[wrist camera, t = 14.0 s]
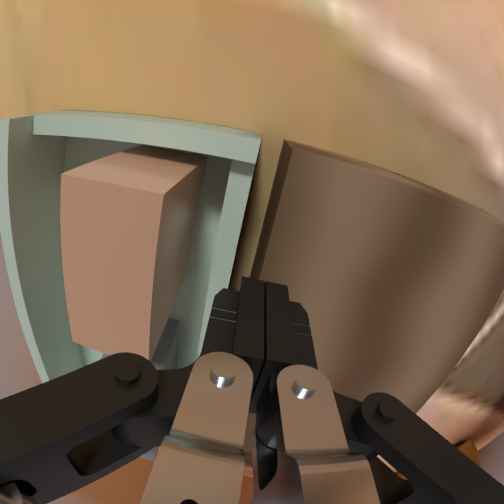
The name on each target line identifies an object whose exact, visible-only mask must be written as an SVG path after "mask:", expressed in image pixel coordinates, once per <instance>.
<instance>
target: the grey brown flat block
mask: <svg viewBox="0 0 504 504" xmlns="http://www.w3.org/2000/svg"><path fill="white" fill-rule="evenodd" d="M250 278H253V279H258V280H263V281H264V283H265V281H268V282H273V283H278V284H283V285H287V286H288V293H289V301H292V302H298V303H300V304H301V305H302V306H303V308H304V309H305V310H306V312H307V313H308V317H309V323H310V326H309V327H310V328H311V333H312V334H311V336H312V339H313V344H314V350H315V356H316V361H317V367H318V371H320V372H321V373H322V374H324V375H325V376H326V378H327V379H328V380H329V382H330V384H331V387H332V390H333V391H335V392H337V393H339V394H341V395H344V396H347V397H350V398H353V399H356V400H359V401H363V400H364V399H365V398H366V397H367V396H368V395H369V394H372V393H376V392H382V393H387V394H390V395H392V396H394V397H396V398H397V399H398V400H400V401H401V402H402V403H403V404H404V405H405V406H407V407H408V408H409V409H410V410H411V411H413V412H414V413H415V414H416V413H417V412H418V411H419V409H420V408H421V407H422V406H423V405H424V404H425V403H426V402H427V400H428V399H429V398H430V397H431V396H432V395H433V393H434V392H435V391H436V390H437V389H438V387H439V386H440V385H441V384H442V382H443V381H444V380H445V379H446V377H447V376H448V375H449V373H450V372H451V371H452V370H453V368H454V367H455V366H456V364H457V363H458V361H459V360H460V359H461V357H462V356H463V354H464V353H465V352H466V350H467V349H468V347H469V346H470V344H471V343H472V341H473V340H474V338H475V337H476V335H477V334H478V332H479V331H480V329H481V327H482V326H483V324H484V323H485V321H486V319H487V318H488V316H489V314H490V313H491V311H492V309H493V307H494V306H495V304H496V302H497V300H498V298H499V297H500V295H501V293H502V291H503V289H504V223H503V222H502V221H500V220H499V219H497V218H496V217H494V216H492V215H491V214H489V213H488V212H486V211H484V210H482V209H480V208H478V207H476V206H474V205H472V204H470V203H468V202H465V201H463V200H461V199H459V198H457V197H454V196H452V195H450V194H447V193H445V192H443V191H440V190H438V189H436V188H433V187H431V186H428V185H426V184H423V183H421V182H418V181H416V180H413V179H410V178H408V177H405V176H402V175H400V174H397V173H394V172H391V171H389V170H386V169H383V168H380V167H377V166H374V165H371V164H368V163H365V162H362V161H359V160H356V159H353V158H350V157H346V156H343V155H340V154H336V153H333V152H330V151H326V150H323V149H319V148H315V147H312V146H308V145H304V144H301V143H297V142H293V141H289V140H285V139H284V142H283V146H282V150H281V154H280V158H279V162H278V166H277V170H276V174H275V178H274V182H273V186H272V190H271V194H270V198H269V202H268V206H267V210H266V214H265V219H264V223H263V227H262V231H261V235H260V239H259V243H258V247H257V251H256V255H255V259H254V263H253V267H252V271H251V275H250ZM255 425H256V414H254V413H248V417H247V424H246V430H245V437H244V443H243V451H245V452H252V440H251V436H252V431H253V429H254V427H255Z"/></svg>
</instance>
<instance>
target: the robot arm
mask: <svg viewBox="0 0 504 504" xmlns="http://www.w3.org/2000/svg"><path fill="white" fill-rule="evenodd" d="M309 326H310V323H309V317H308V313H307V312H306V310H305V309H304V308H303V306H302V305H301V304H300V303H298V302H292V301H289V293H288V286H287V285H283V284H278V283H273V282H268V281H265V283H264V281H263V280H258V279H253V278H248V277H243V276H242V278H241V282H240V286H239V291H236V290H231V289H226V288H223V289H222V290H220V291H219V292H218V293H217V294H216V295H215V296H214V300H213V304H212V309H211V312H210V317H209V321H208V325H207V329H206V333H205V337H204V342H203V346H202V350H201V353H200V356H199V357H198V359H197V360H196V361H195V362H193V363H192V364H190V365H189V366H186V367H184V368H180V369H172V370H156V368H155V366H154V365H153V364H152V363H151V362H150V361H149V360H148V359H146V358H145V357H143V356H141V355H138V354H135V353H129V352H122V353H116V354H113V355H110V356H108V357H105V358H103V359H101V360H98V361H96V362H93V363H91V364H89V365H86V366H84V367H82V368H79V369H77V370H74V371H72V372H69V373H67V374H65V375H62V376H60V377H57V378H55V379H52V380H50V381H47V382H45V383H42V384H40V385H37V386H35V387H32V388H29V389H27V390H25V391H22V392H19V393H17V394H14V395H11V396H9V397H6V398H3V399H1V400H0V504H46V503H49V502H51V501H54V500H56V499H58V498H60V497H63V496H65V495H67V494H69V493H71V492H73V491H76V490H78V489H80V488H82V487H84V486H86V485H88V484H90V483H92V482H94V481H96V480H98V479H100V478H102V477H104V476H106V475H108V474H109V473H111V472H113V471H115V470H117V469H119V468H121V467H122V466H124V465H126V464H128V463H129V462H131V461H133V460H135V459H136V458H138V457H140V456H142V455H143V454H145V453H147V452H148V451H150V450H151V449H153V448H154V447H158V446H160V449H159V451H158V454H157V457H156V460H155V463H154V466H153V469H152V471H151V474H150V477H149V480H148V483H147V486H146V489H145V492H144V495H143V497H142V501H141V503H140V504H239V498H240V492H241V485H242V479H243V472H244V465H245V453H243V443H244V437H245V430H246V424H247V417H248V413H254V414H256V425H255V427H254V429H253V431H252V436H251V440H252V461H253V480H254V496H253V500H252V504H504V486H503V485H502V484H501V483H499V482H498V481H497V480H496V479H494V478H493V477H492V476H490V475H489V474H488V473H487V472H485V471H484V470H483V469H482V468H481V467H479V466H478V465H477V464H476V463H474V462H473V461H472V460H471V459H469V458H468V457H467V456H466V455H465V454H463V453H462V452H461V451H460V450H458V449H457V448H456V447H455V446H454V445H452V444H451V443H450V442H449V441H447V440H446V439H445V438H444V437H443V436H441V435H440V434H439V433H438V432H437V431H435V430H434V429H433V428H432V427H431V426H429V425H428V424H427V423H426V422H425V421H423V420H422V419H421V418H420V417H419V416H417V415H416V414H415V413H414V412H413V411H411V410H410V409H409V408H408V407H407V406H405V405H404V404H403V403H402V402H401V401H400V400H398V399H397V398H396V397H394V396H392V395H390V394H387V393H382V392H376V393H372V394H369V395H368V396H367V397H366V398H365V399H364V400H363V401H359V400H356V399H353V398H350V397H347V396H344V395H341V394H339V393H337V392H335V391H333V390H332V387H331V384H330V382H329V380H328V379H327V378H326V376H325V375H324V374H322V373H321V372H320V371H318V367H317V361H316V356H315V350H314V344H313V339H312V336H311V334H312V333H311V328H310V327H309ZM378 454H379V455H380V456H381V457H382V458H383V459H385V460H386V461H387V462H388V463H389V464H390V465H391V466H393V467H394V468H395V469H396V470H397V471H398V472H399V473H401V474H402V475H403V476H404V477H405V478H407V479H408V480H405V479H402V478H401V477H399V476H398V475H397V474H396V473H395V472H393V471H392V470H391V469H390V468H389V467H388V466H387V465H385V464H384V463H383V462H382V461H381V460H380V459H379V458H378V457H376V456H377V455H378Z"/></svg>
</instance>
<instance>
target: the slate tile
mask: <svg viewBox="0 0 504 504" xmlns="http://www.w3.org/2000/svg"><path fill="white" fill-rule="evenodd" d="M179 330H180V321H179V320H175V319H171V318H168V320H167V322H166V325H165V327H164V330H163V332H162V335H161V337H160V340H159V342H158V345H157V347H156V350H155V352H154V355H153V357H152V360H151V363H152V364H153V365H154V366H155V368H156V370H172V369H177V356H178V343H179ZM108 356H110V355H108V354H105V353H103V355H102V357H101V359H103V358H105V357H108ZM101 359H100V360H101ZM159 447H160V446H158V447H154V448H153V449H151V450H150V451H148V452H147V453H145V454H143V455H142V456H140V457H142V458H145V459H148V460H152V461H155V460H156V457H157V454H158V451H159Z"/></svg>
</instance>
